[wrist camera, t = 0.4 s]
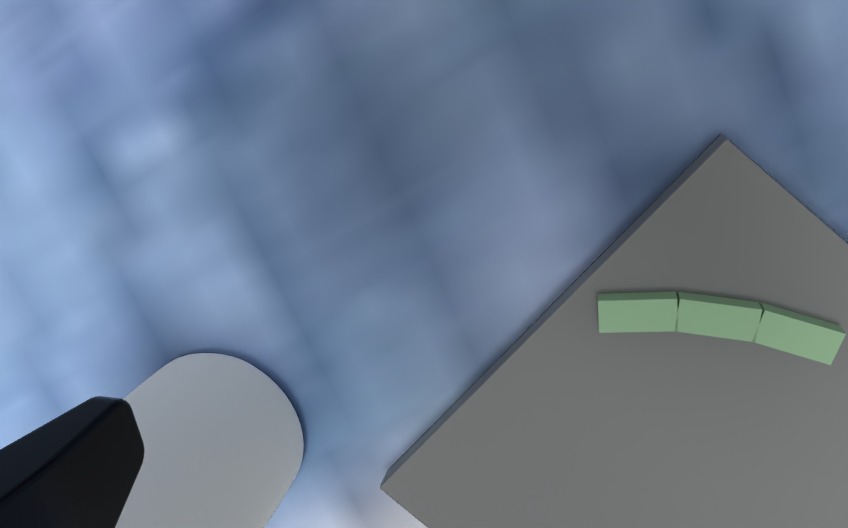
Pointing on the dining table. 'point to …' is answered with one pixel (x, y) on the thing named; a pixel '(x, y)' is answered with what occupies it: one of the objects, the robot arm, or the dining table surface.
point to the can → (211, 446)
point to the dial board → (664, 379)
